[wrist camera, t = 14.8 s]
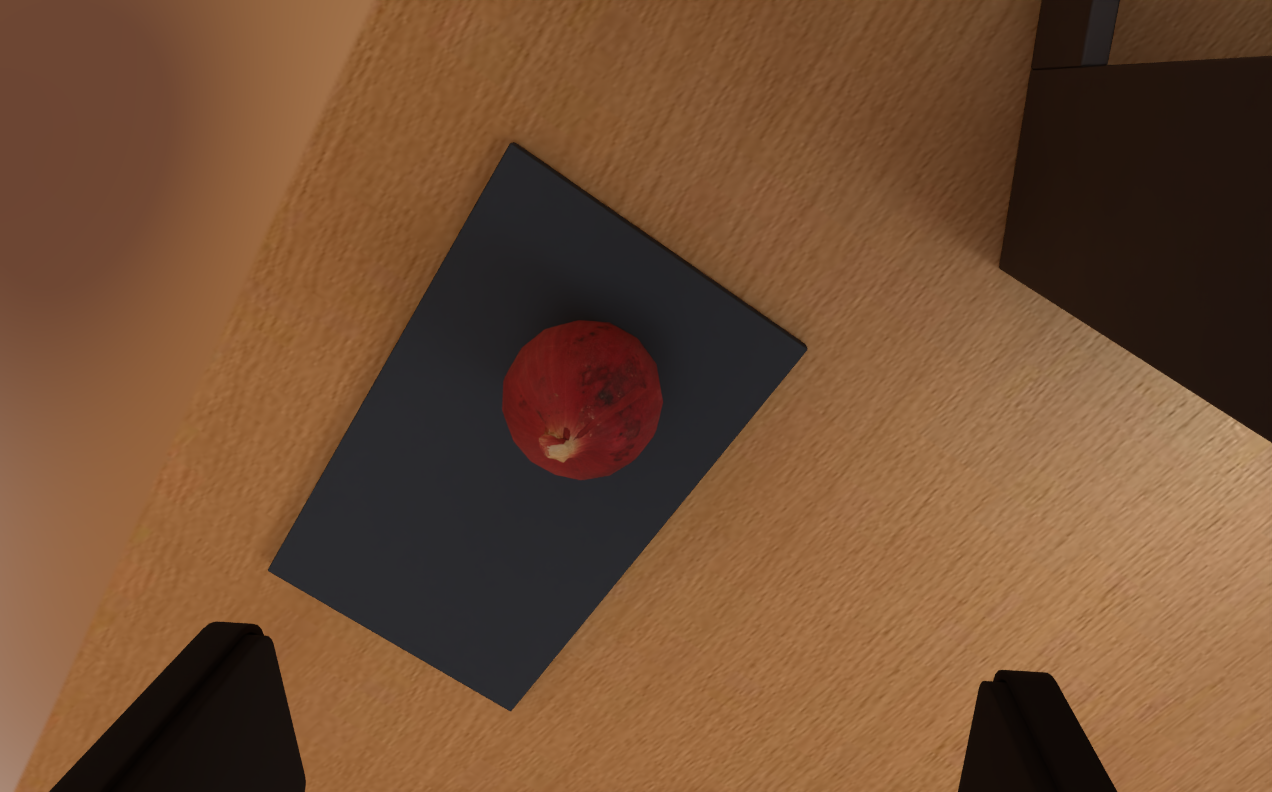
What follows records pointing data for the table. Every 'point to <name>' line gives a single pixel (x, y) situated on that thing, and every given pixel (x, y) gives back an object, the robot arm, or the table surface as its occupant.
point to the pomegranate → (582, 399)
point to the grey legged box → (1150, 205)
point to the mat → (492, 462)
